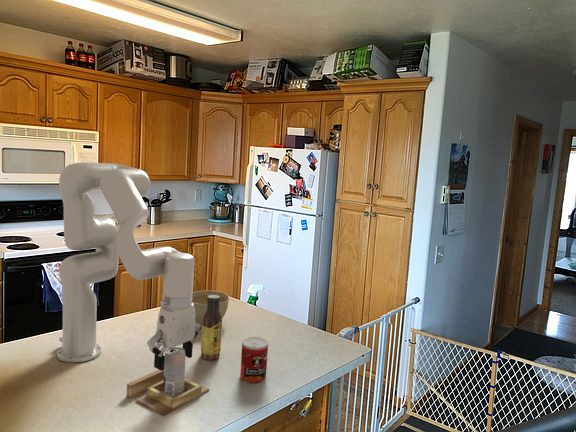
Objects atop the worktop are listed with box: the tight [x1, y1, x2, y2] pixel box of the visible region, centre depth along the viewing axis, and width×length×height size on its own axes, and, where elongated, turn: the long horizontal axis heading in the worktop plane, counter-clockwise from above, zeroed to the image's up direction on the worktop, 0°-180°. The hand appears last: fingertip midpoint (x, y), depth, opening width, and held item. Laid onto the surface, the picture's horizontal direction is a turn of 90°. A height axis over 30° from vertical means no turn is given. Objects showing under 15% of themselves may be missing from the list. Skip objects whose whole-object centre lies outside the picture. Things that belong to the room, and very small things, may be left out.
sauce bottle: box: [200, 295, 223, 361], centre depth 144 cm, size 6×6×20 cm
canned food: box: [240, 336, 269, 385], centre depth 133 cm, size 8×8×11 cm
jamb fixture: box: [126, 369, 210, 417], centre depth 121 cm, size 14×16×4 cm
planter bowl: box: [192, 290, 230, 329], centre depth 171 cm, size 16×16×11 cm
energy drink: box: [163, 346, 186, 398], centre depth 119 cm, size 5×5×12 cm
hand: (173, 362), depth 119 cm, fingers open, 9 cm apart
